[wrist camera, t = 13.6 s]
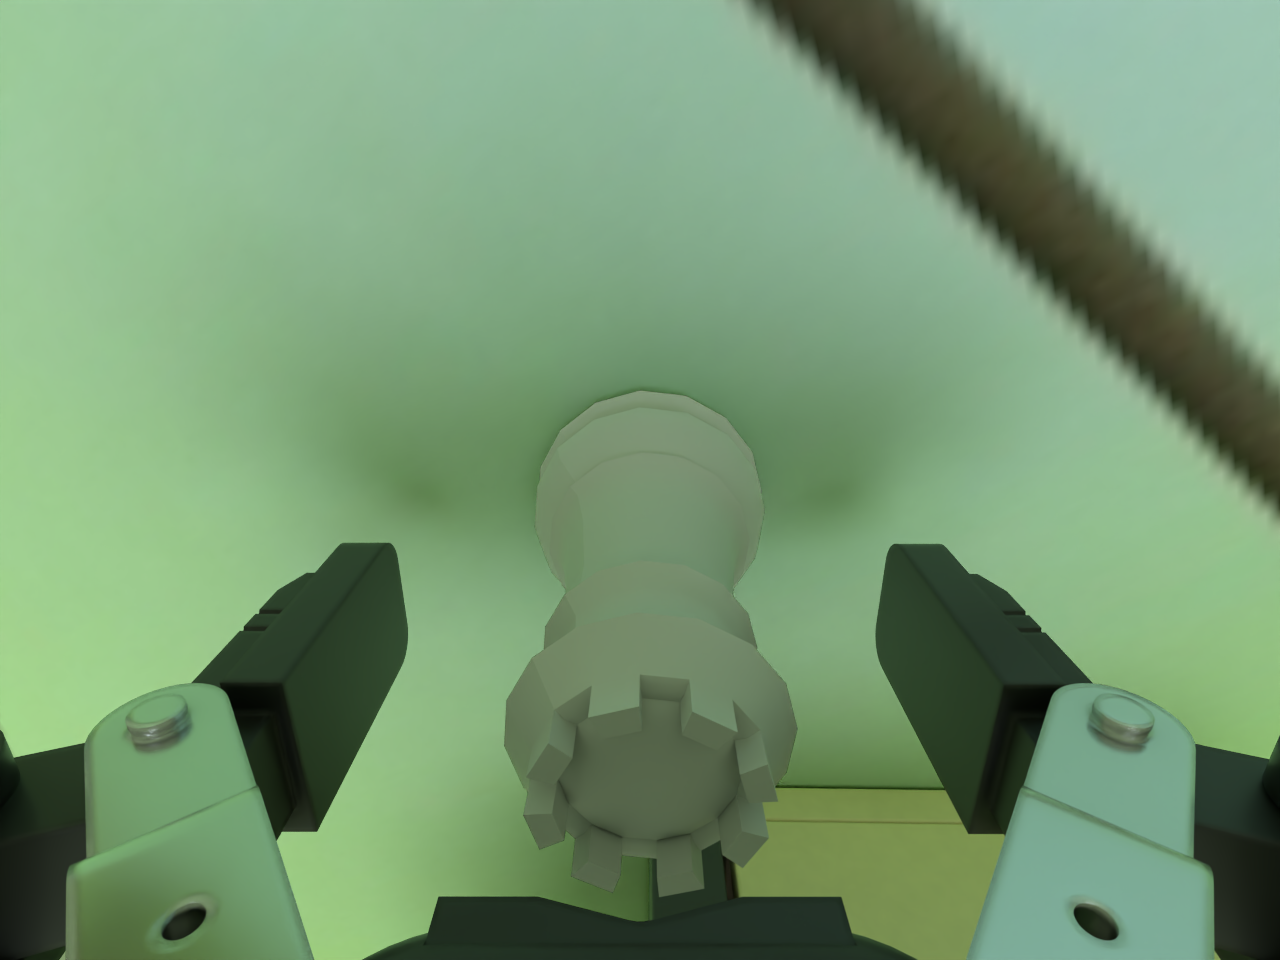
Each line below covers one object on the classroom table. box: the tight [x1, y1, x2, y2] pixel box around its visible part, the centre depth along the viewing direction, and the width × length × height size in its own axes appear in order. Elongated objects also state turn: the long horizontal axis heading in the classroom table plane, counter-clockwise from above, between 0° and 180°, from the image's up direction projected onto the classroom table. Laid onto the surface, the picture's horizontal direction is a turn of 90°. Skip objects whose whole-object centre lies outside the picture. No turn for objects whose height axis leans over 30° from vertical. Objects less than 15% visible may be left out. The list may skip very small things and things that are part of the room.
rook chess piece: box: [504, 391, 797, 897], centre depth 11 cm, size 4×4×8 cm
